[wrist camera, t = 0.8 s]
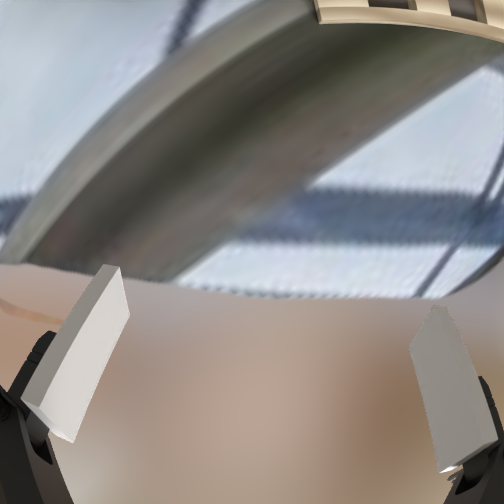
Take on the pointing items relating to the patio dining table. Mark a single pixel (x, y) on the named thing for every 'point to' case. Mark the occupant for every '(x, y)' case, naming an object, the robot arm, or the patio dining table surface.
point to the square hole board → (420, 14)
